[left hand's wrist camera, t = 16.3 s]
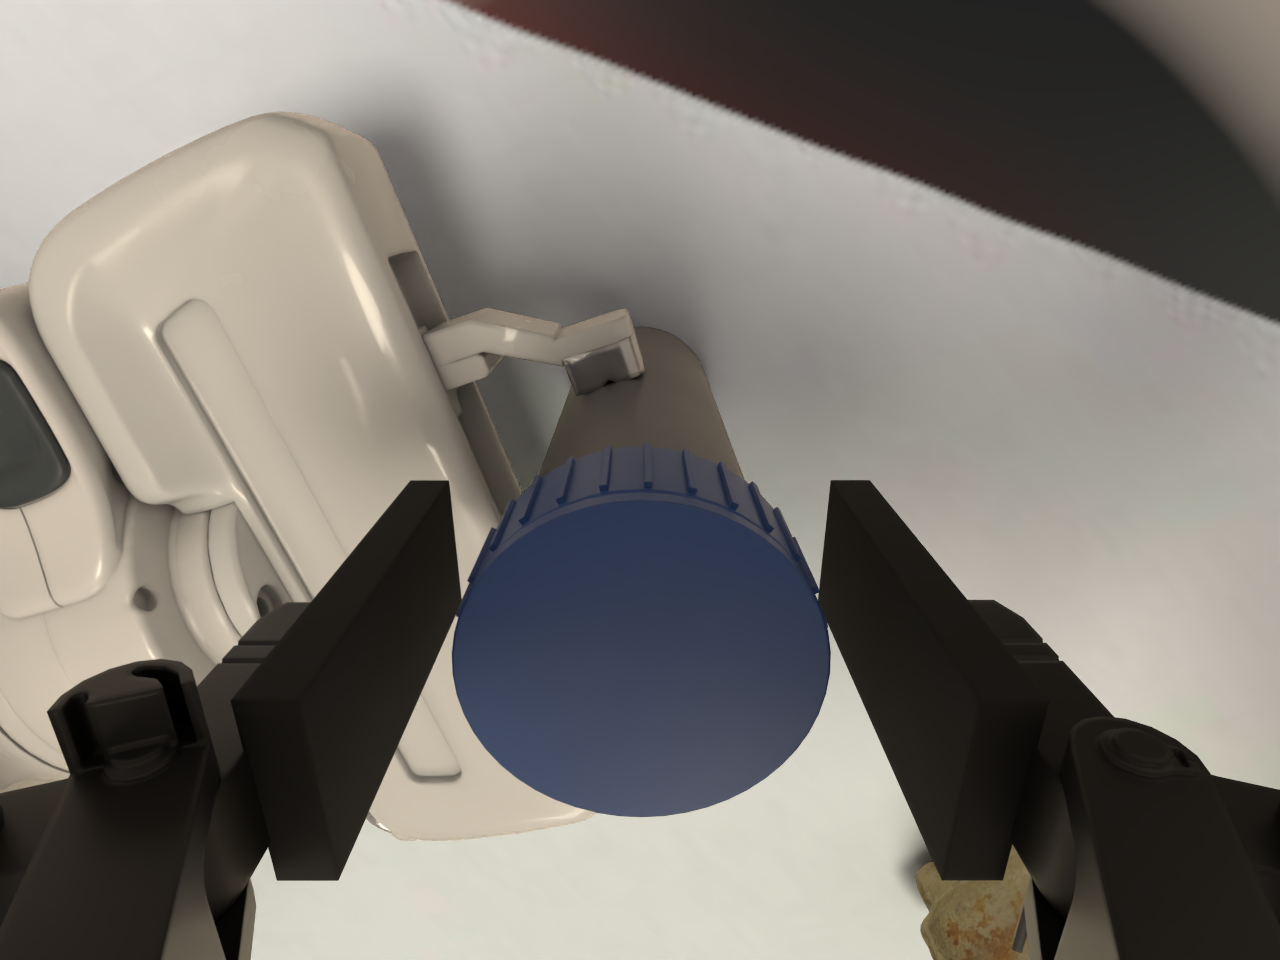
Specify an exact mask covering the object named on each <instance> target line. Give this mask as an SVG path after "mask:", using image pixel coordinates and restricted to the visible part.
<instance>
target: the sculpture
mask: <svg viewBox="0 0 1280 960" xmlns="http://www.w3.org/2000/svg"><path fill="white" fill-rule="evenodd" d="M1030 876H1031V875H1030V874H1029V872H1028V870H1027V869H1026V867H1025V865H1024V863H1023V862H1022V860H1021V858H1020V856H1019V855H1018V853H1017V851H1016V849H1015V848H1014V846H1013V844H1012V848H1011V851H1010V855H1009V859H1008V863H1007V867H1006V871H1005V875H1004V878H1003V880H941V878H940V875H939V873H938V871H937V869H936V866H935V864H934V862H929V863H927V864H925V865H923V866H922V867H921V868H920V869H919V871H918V872H917V875H916V882H917V886H918V889H919V892H920V894H921V896H922V898H923V900H924V902H925V904H926V906H927V908H928V910H929V914H928V915H927V916H926V918H925V919H924V920H923V922H922V924H921V934H922V937H923V939H924V941H925V942H926V944H927V946H928V948H929V950H930V953H931V956H932V958H933V960H1030V956H1029V947H1028V938H1027V937H1026V940H1025V944H1024V947H1023V951H1022V953H1019V952H1016V951H1013V950H1012V944H1013V938H1014V933H1015V930H1016V926H1017V922H1018V919H1019V915H1020V912H1021V908H1022V904H1023V901H1024V897H1025V894H1026V890H1027V886H1028V883H1029V879H1030Z"/></svg>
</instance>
